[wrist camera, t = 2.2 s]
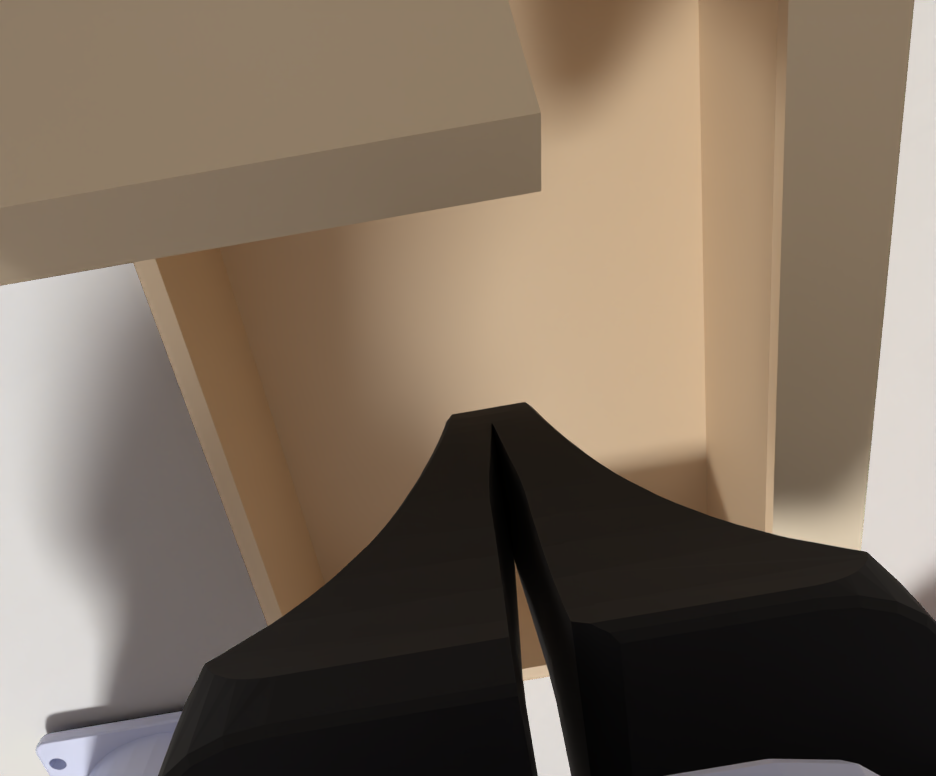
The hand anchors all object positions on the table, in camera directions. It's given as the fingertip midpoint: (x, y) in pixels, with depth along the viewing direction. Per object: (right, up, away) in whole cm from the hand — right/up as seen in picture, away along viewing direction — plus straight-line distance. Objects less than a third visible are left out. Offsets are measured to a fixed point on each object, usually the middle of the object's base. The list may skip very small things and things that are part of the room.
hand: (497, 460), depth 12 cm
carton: (0, +3, +6) cm, 7 cm away
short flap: (-3, +5, -3) cm, 7 cm away
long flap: (+5, +1, 0) cm, 5 cm away
